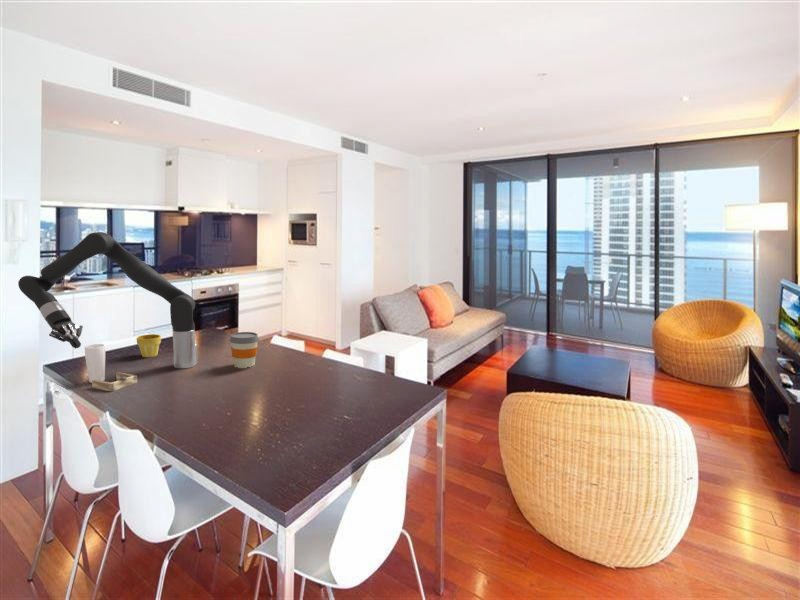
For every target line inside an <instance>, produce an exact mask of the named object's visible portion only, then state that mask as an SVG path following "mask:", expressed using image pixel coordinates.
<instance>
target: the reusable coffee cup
mask: <svg viewBox="0 0 800 600" xmlns="http://www.w3.org/2000/svg"><path fill="white" fill-rule="evenodd" d="M229 341H230V345H231V346H230V351H231V357H232V358H233V363H234V368H236V367H238V368H237V369H248V368H247V367H250V368H252V367H251V366H253V365H254V366H255V363H256V356H257V355H258V354H257V353H258V347H259V345H258V341H259V335H258V333H256V332H252V331H241V332H234V333H231V334H230V339H229ZM254 366H253V367H254Z"/></svg>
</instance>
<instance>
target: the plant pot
mask: <svg viewBox="0 0 800 600" xmlns="http://www.w3.org/2000/svg"><path fill="white" fill-rule="evenodd" d="M161 343H162V337H161V334H155V333H152V334H151V333H150V334H143V335H138V336H137V337H136V344H137V345H138V348H139V350H140V353H141V354H140V355H141V356H142V357H143V358H153V357H157V356H158V353H159V348H160V344H161Z"/></svg>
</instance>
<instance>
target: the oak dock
mask: <svg viewBox="0 0 800 600" xmlns="http://www.w3.org/2000/svg"><path fill="white" fill-rule="evenodd" d="M115 377H116V378H115V379H116V381H112V382H111V381H110V382H109V381H105V380H104V381H100V380H92V383H91V386H92V389H97V390H101V391H105V392H106V391H107V392H115V391H117V390H119V389H120V390H121V389H123V388H126V387H128V386H130V385H134V384H137V383H138V375H137V374H130V373H124V372H120V371H118V372H115Z"/></svg>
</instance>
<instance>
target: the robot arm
mask: <svg viewBox="0 0 800 600" xmlns="http://www.w3.org/2000/svg"><path fill="white" fill-rule="evenodd" d="M97 255H104V256H105V257H107V258H108V259H110V260H112V261H113V262H114V263H115V264H116V265H117V266H119V268H120V269H121V270H122V272H123V273H124V274H125V275H126V276H127V277H128V278H129V280H131V281H132V282H134V283H135V284H137V285H138V286H140V287H141V288H142V289H144V290H146V291H148V292H151V293H153V294H155V295H157V296H158V297H161V298H162V299H164V300H165V301H167V303H169V304H170V305H169V307H170V308H169V309H170V310H169V311H170V324H171V327H172V329H171V330H172V347H173V348H172V353H173V367H174V368H176V369H189V368H193V367H195V366H196V365H197V364H198V345H197V343H196V330H195V329H196V325H195V321H194V310H195V308H196V301H195V300H194V298H193V297H192V296H191V295H190V294H187V293H186V292H184V291H183V290H181V289H179V288H178V287H176V286H175V285H174V284H172V283H171V282H170V281H169V280H168V279H166V278H165V277H164V276H162V275H161V274H160V273H159V272H157V271H156V270H155V269H154V268H152V267H151V266H150V265H148V264H147V263H145V262H144V261H143V260H141V259H140V258H139V257H138V256H136V255H134V254H132V253H131V252H129V250H127V249H125V247H123V246H122V245H121V244H120V243H119V241H117V240H116V239H115V238H114V237H113V236H111V235H110V234H108V233H107V232H103V231H98V232H97V231H96V232H90V233H89V234H87V235H86V236H85V237H84V238H83V239H82V240H81V241H80V242H79V243H77V245H75V246H73V248H72V249H70V250H69V251H67V253H64V255H61V256H60V257H58V258H57V259H55V260H54V261H52V262H50V263H49V264H48V265H45V266H44V267H43V268H42V269H41V270H40V275H41V276H40V277H36V276H33V275H24V276H22V277H20V278H19V280H18V282H17V283H18V288H19V290H20V291H21V292H22V294H23V295H24V296H26V297H27V298H28V299H29V300H30V301H31V302H33V303H34V304H35V306H36V308H37V309H38V310H39V312H40V314H41V316H42V318H43V319H44V320H45V322H46V323H47V325H49V327H50V328H51V331H50V332H49V334H48V335H49V337H51V338H53V339H56V340H58V341H61V342H62V343H65V342H67V343H69V345H71V347H72V348H74V349H80V347H81V345H82V342H81V341H80V340H79V338H80V337H81V335H82V332H83V327H84V326H83V325H76V323H74V322H73V321H72V318H71V317H70V315H69V314H68V313H67V311H66V310H65V308H64V307H63V306H62V305H61V304H60V302H59V301H58V300H57V299H56V297H55V296H54V294H52V293H51V292H49V291H50V290H51V289H52V288H53V287H54V285H55V284H56V283H57V282H59V280H61V279H63V278H64V277H65V276H67V275H69V274H70V273H71V272H72V271H73V270H75V269H76V268H77V267H78V266H79V265H80V264H81V263H83V262H85V261H87V260H88V259H90V258H93V257H95V256H97Z"/></svg>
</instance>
